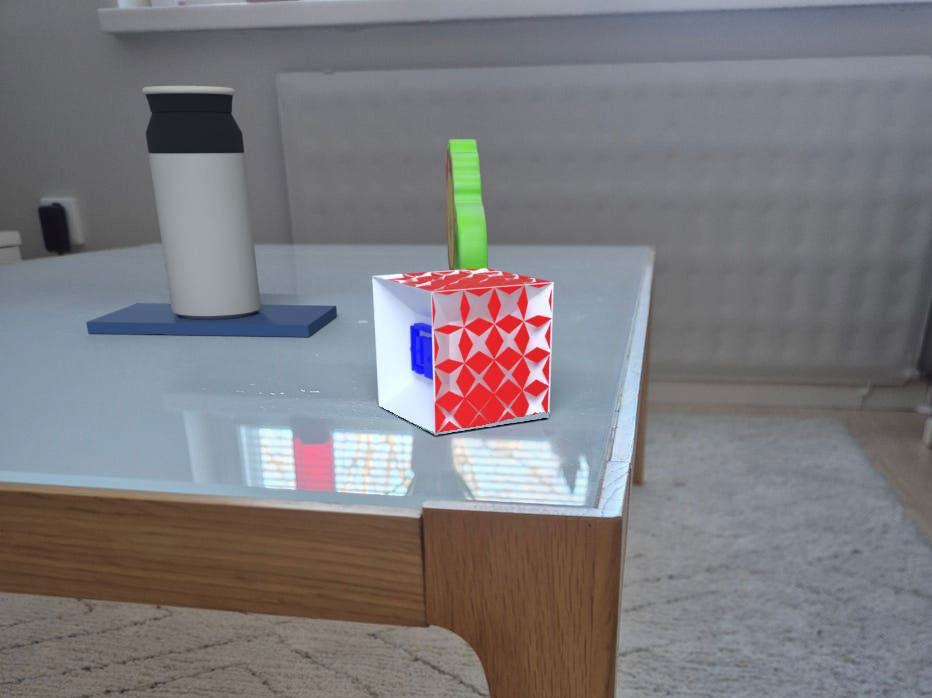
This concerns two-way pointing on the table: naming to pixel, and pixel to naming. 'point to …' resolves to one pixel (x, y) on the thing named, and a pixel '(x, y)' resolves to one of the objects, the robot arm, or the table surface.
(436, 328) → the red patterned cube box
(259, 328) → the blue mat
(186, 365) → the table surface
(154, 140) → the travel mug
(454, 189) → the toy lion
